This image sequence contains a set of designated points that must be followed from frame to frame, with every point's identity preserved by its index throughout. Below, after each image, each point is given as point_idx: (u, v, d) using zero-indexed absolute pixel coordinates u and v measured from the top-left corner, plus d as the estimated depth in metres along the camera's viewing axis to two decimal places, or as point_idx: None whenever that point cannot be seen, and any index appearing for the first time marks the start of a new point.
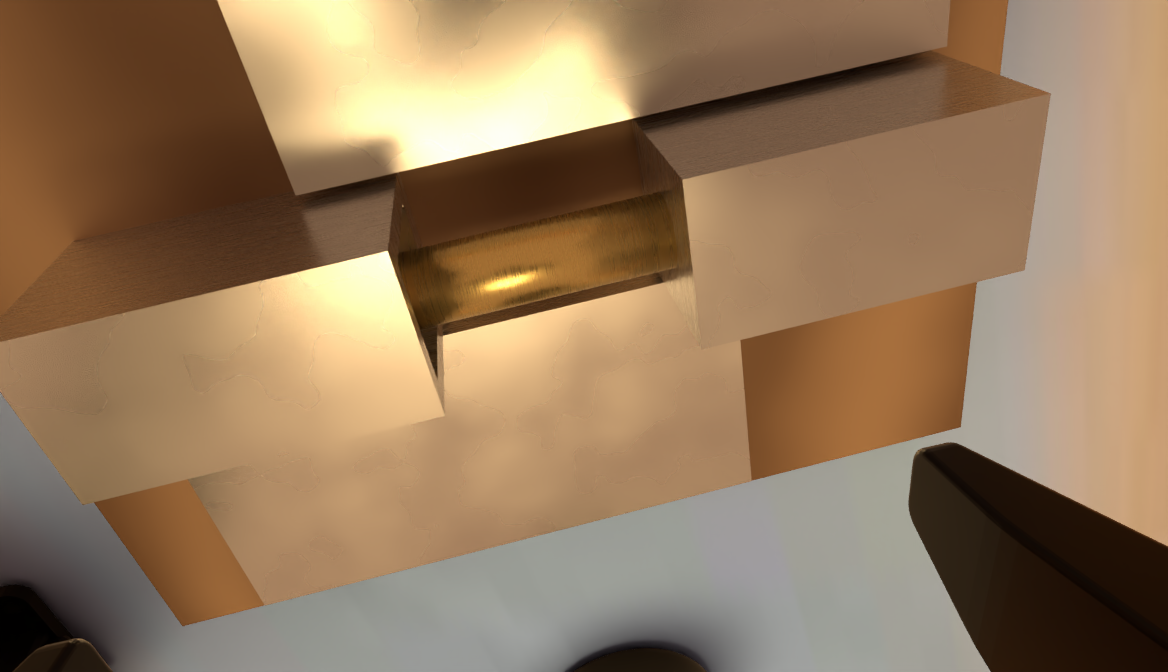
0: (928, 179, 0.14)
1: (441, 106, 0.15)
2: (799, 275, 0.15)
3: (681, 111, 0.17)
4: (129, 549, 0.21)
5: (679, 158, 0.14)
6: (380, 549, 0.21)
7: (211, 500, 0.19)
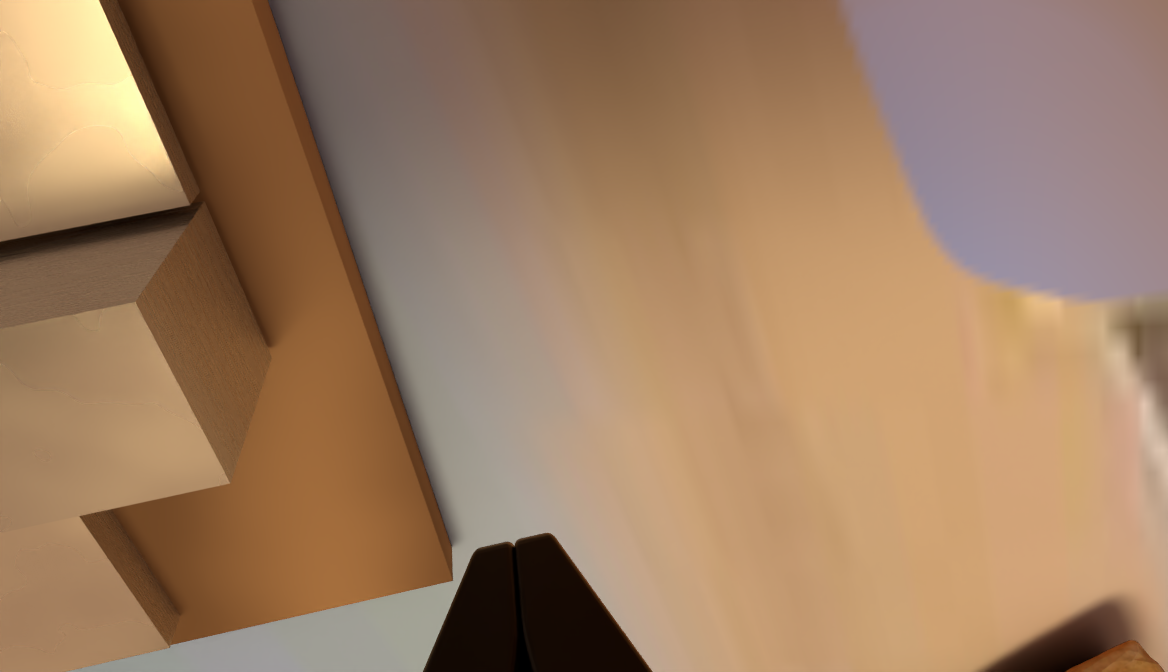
0: (19, 394, 0.12)
1: None
2: None
3: None
4: None
5: None
6: None
7: None
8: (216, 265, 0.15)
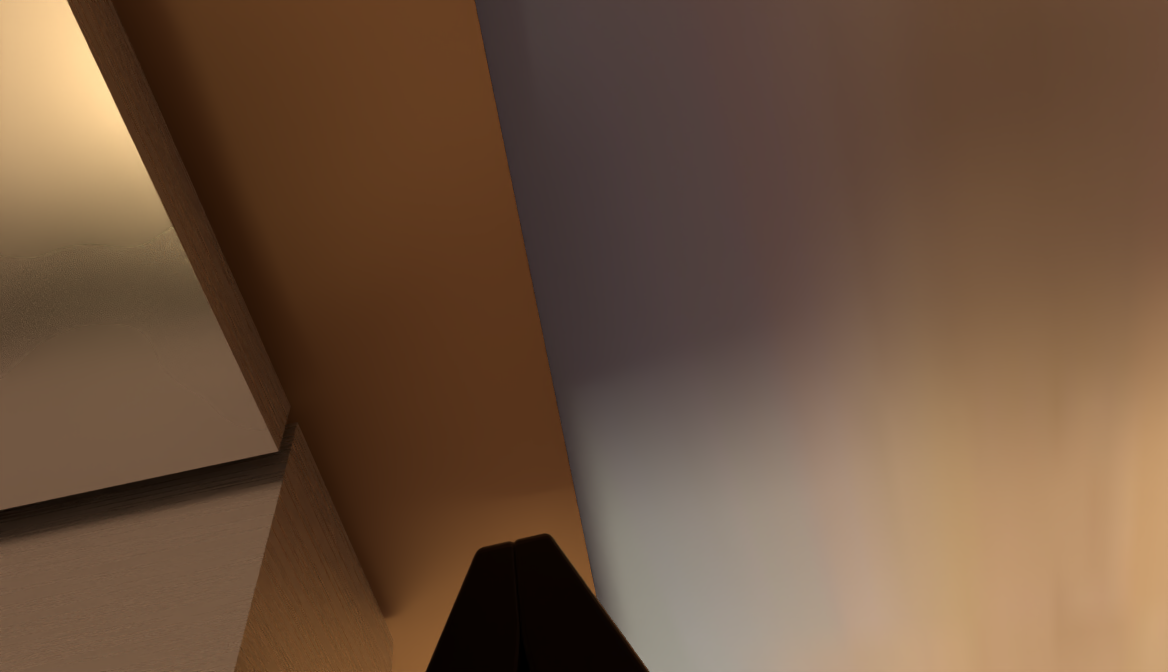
0: None
1: None
2: None
3: None
4: None
5: None
6: None
7: None
8: (321, 542, 0.08)
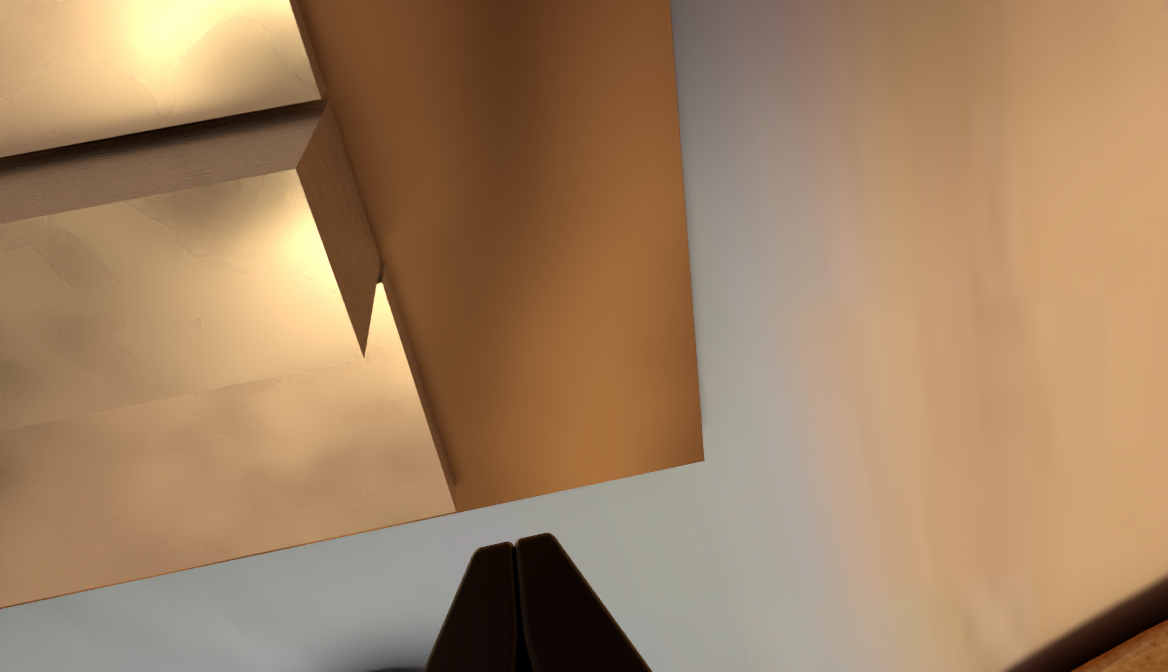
0: (181, 259, 0.12)
1: None
2: (64, 359, 0.13)
3: (25, 159, 0.15)
4: None
5: None
6: (37, 570, 0.20)
7: None
8: (341, 161, 0.15)
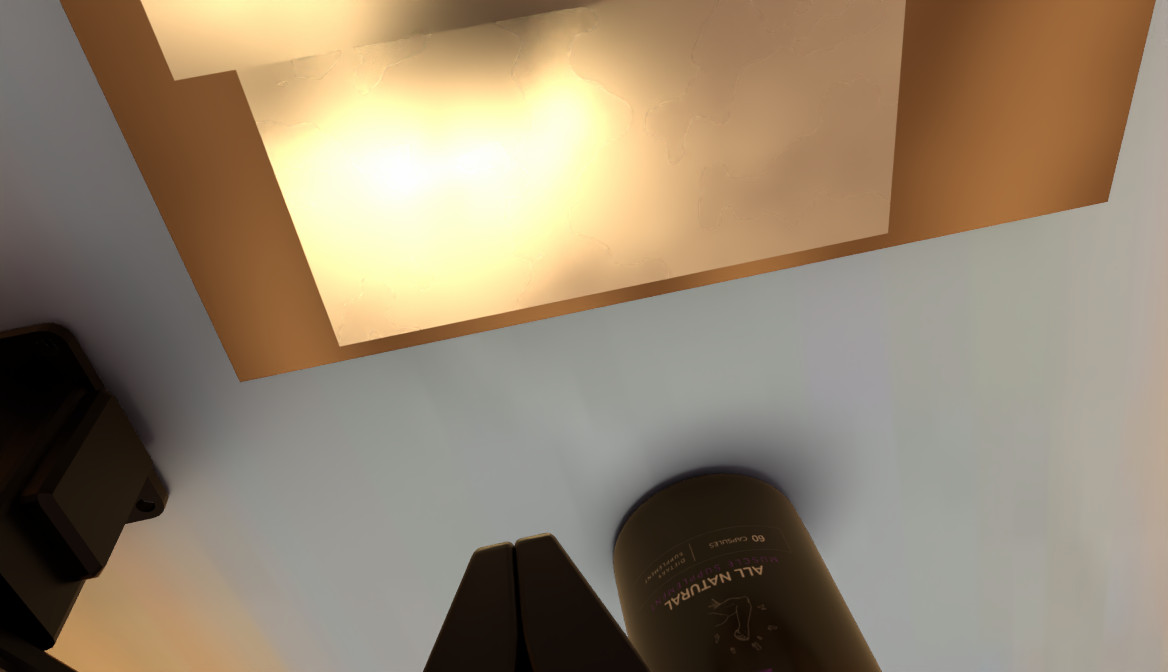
0: None
1: None
2: None
3: None
4: (189, 270, 0.18)
5: None
6: (474, 282, 0.19)
7: (293, 191, 0.17)
8: None
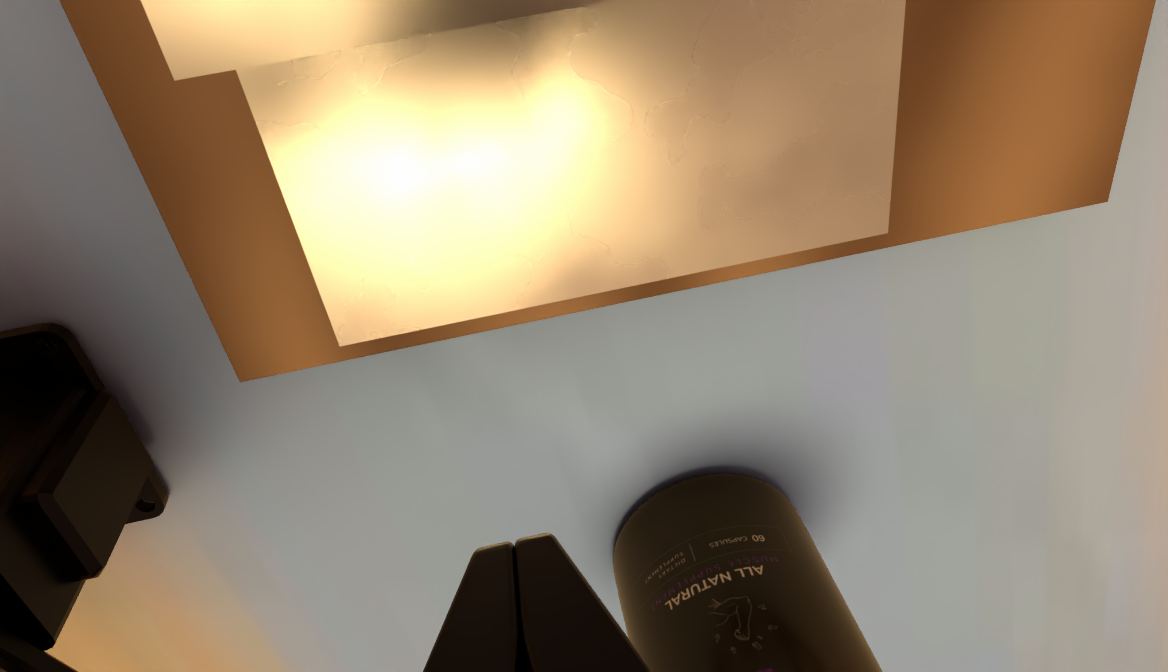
0: None
1: None
2: None
3: None
4: (189, 270, 0.18)
5: None
6: (474, 282, 0.19)
7: (293, 191, 0.17)
8: None
